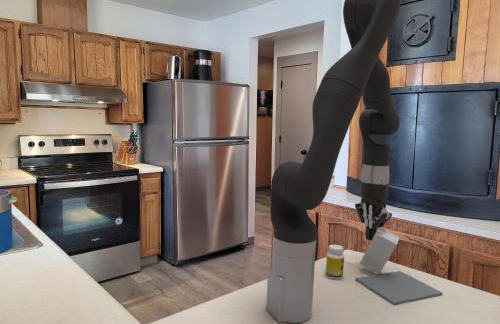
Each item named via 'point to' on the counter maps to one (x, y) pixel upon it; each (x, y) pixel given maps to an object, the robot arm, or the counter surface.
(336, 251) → the supplement bottle
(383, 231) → the skincare box
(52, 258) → the counter surface
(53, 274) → the counter surface
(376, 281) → the slate mat
